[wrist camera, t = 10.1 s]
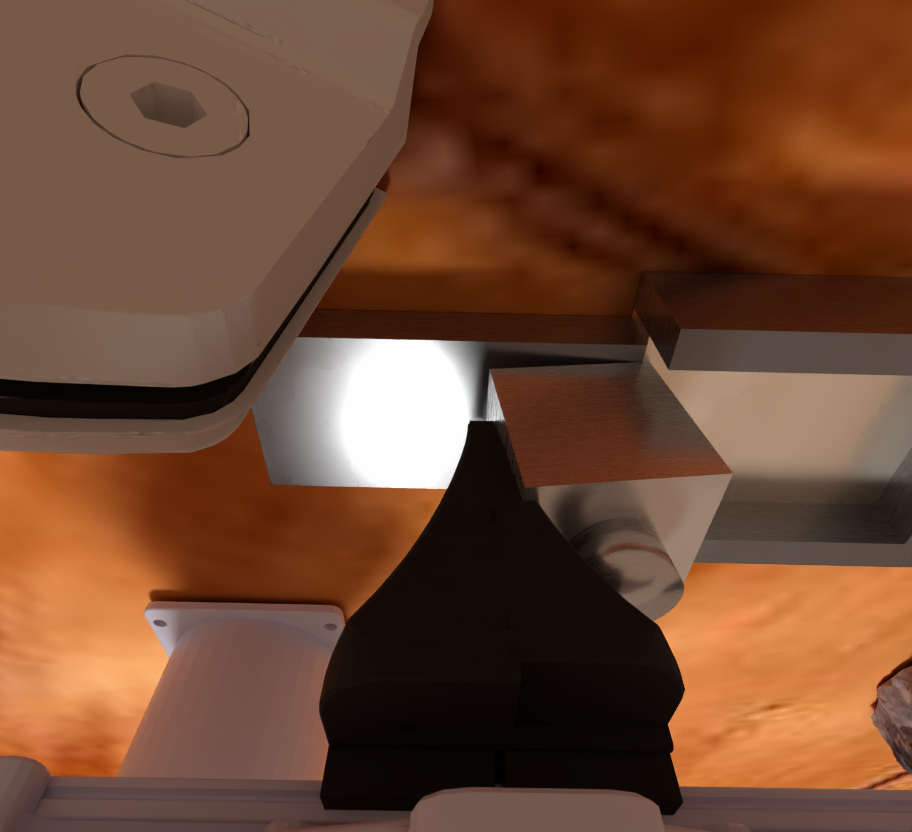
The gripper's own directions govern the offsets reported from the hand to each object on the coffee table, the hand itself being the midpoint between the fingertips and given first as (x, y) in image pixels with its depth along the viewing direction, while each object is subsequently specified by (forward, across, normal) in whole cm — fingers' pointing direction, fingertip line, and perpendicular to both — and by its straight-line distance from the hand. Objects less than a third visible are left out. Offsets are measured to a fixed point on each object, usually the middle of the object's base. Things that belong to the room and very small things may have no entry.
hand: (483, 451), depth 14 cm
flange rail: (+3, -3, 0) cm, 4 cm away
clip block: (+1, -2, 0) cm, 2 cm away
